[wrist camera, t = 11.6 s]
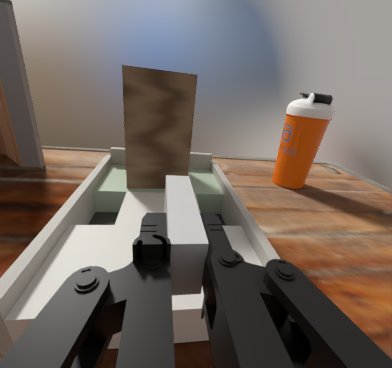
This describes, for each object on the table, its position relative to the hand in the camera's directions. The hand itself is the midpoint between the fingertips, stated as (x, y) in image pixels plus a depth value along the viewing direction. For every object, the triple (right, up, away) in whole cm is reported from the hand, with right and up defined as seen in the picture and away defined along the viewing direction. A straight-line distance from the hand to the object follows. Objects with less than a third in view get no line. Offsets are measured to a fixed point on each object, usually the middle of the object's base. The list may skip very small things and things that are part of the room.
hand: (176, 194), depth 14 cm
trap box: (-4, -5, +16) cm, 17 cm away
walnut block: (-5, +2, +22) cm, 23 cm away
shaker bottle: (+24, +1, +37) cm, 44 cm away
